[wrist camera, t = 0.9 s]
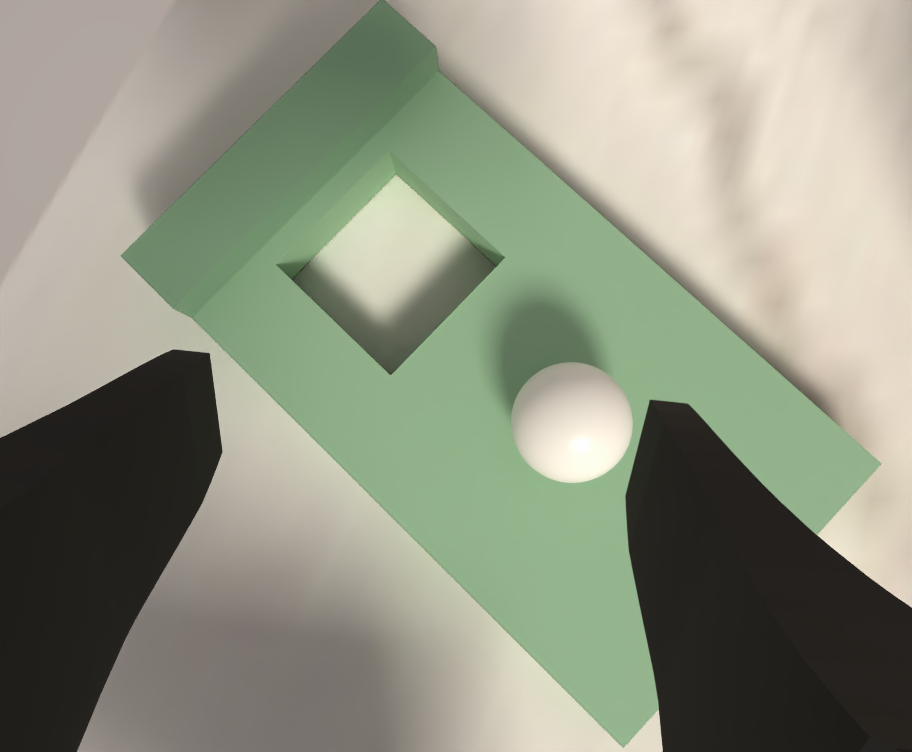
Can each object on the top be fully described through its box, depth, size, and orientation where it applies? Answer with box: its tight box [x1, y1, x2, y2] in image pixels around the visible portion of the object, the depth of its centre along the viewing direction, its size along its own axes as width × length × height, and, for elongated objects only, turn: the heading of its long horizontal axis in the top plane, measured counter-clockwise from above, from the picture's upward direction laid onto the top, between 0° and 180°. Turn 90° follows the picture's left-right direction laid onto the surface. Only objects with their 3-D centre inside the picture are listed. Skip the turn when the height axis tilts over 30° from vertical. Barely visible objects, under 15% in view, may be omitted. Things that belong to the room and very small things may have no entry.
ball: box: [511, 362, 633, 483], centre depth 22 cm, size 4×4×4 cm
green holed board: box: [121, 0, 881, 748], centre depth 24 cm, size 22×12×4 cm, turn 46°
